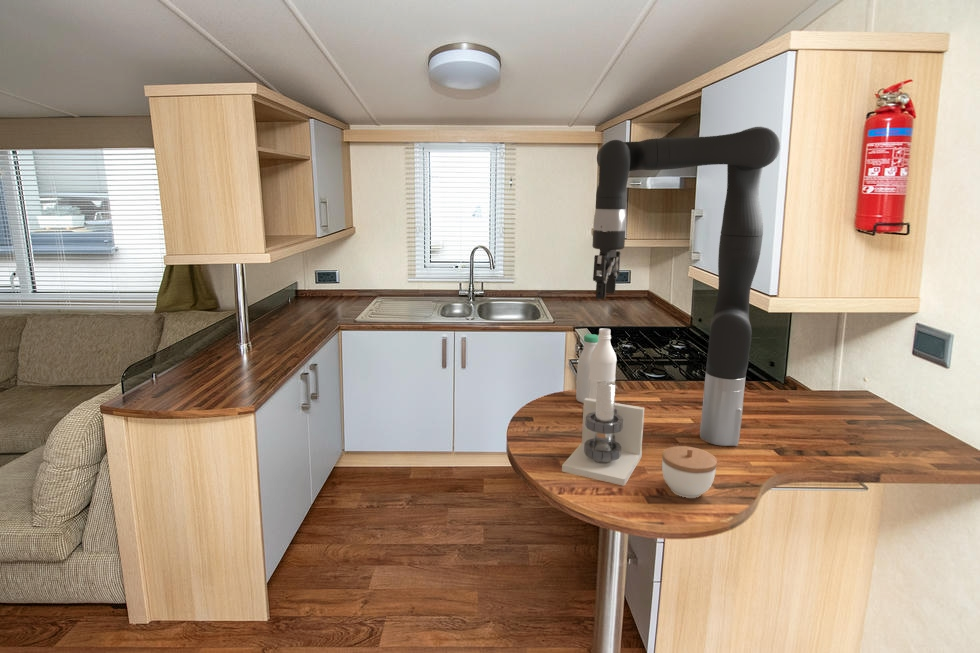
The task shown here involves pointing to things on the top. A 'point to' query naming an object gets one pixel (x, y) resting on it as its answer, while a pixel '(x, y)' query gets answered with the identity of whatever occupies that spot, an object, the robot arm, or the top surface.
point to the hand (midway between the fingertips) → (605, 295)
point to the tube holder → (626, 438)
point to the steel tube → (604, 415)
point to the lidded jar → (688, 470)
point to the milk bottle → (585, 367)
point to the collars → (606, 429)
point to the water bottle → (602, 362)
